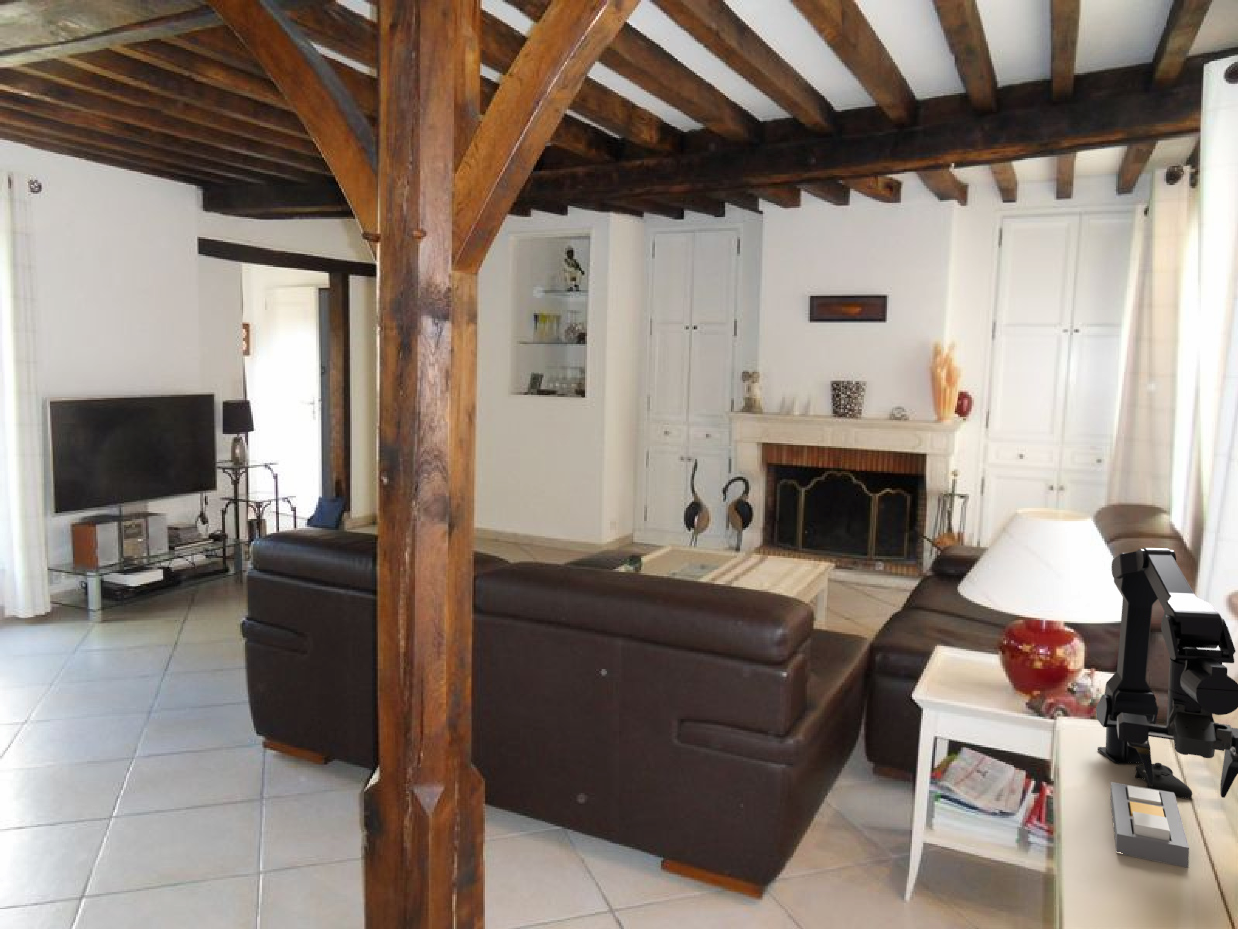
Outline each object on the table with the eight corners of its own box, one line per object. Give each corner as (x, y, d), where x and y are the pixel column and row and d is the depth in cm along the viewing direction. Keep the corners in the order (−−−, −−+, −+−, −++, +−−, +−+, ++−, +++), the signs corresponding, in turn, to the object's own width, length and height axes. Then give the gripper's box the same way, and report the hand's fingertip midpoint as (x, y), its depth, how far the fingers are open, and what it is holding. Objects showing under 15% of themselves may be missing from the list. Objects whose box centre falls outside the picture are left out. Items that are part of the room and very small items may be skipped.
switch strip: (1110, 799, 146) (1111, 782, 146) (1173, 810, 142) (1174, 792, 142) (1116, 853, 129) (1117, 834, 129) (1188, 867, 125) (1189, 847, 125)
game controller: (1197, 796, 145) (1170, 769, 146) (1171, 816, 146) (1144, 790, 147) (1173, 771, 155) (1147, 746, 155) (1149, 790, 156) (1123, 765, 156)
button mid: (1129, 813, 138) (1129, 801, 138) (1161, 819, 136) (1162, 807, 136) (1131, 825, 134) (1131, 813, 134) (1164, 832, 132) (1165, 819, 132)
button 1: (1126, 797, 144) (1127, 785, 144) (1158, 802, 142) (1158, 790, 142) (1128, 808, 140) (1129, 796, 140) (1160, 814, 138) (1161, 802, 138)
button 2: (1132, 824, 133) (1132, 811, 133) (1166, 830, 131) (1166, 817, 131) (1134, 837, 129) (1134, 824, 129) (1169, 844, 127) (1169, 830, 127)
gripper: (1122, 698, 128) (1118, 800, 130) (1278, 719, 120) (1272, 827, 121) (1118, 676, 138) (1114, 771, 140) (1262, 693, 130) (1257, 794, 131)
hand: (1186, 790), depth 133 cm, fingers open, 9 cm apart
